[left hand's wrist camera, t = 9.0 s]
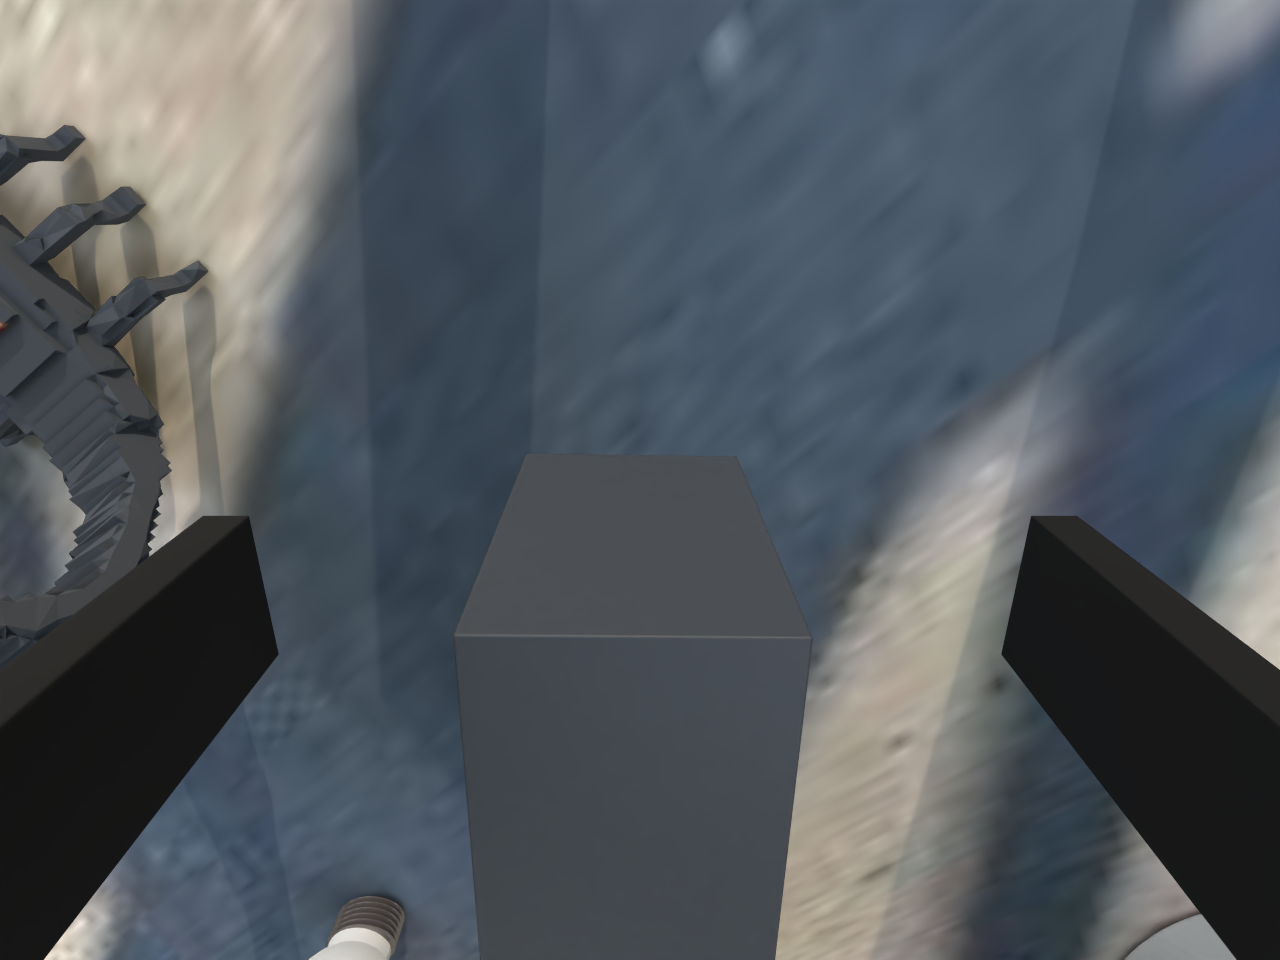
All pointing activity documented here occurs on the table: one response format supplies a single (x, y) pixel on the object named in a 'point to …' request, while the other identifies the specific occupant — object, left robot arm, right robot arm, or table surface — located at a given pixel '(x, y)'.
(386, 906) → the light bulb
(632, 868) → the box
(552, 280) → the table surface
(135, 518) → the toy
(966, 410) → the table surface
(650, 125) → the table surface
